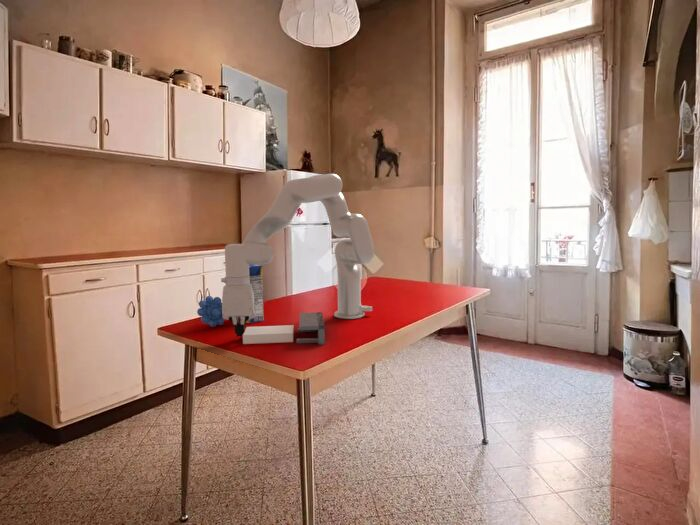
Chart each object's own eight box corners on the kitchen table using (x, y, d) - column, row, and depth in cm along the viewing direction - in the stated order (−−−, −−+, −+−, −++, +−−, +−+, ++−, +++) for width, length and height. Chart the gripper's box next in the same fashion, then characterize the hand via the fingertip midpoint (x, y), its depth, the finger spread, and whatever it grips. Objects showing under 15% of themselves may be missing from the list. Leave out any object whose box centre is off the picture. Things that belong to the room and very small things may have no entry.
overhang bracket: (322, 328, 144) (322, 312, 144) (324, 344, 127) (324, 325, 126) (297, 329, 143) (297, 313, 143) (296, 345, 126) (296, 326, 125)
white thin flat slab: (293, 333, 139) (293, 325, 139) (292, 341, 130) (292, 333, 129) (247, 335, 137) (247, 326, 137) (243, 344, 128) (242, 335, 127)
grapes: (202, 332, 142) (200, 299, 140) (195, 328, 147) (193, 296, 145) (233, 326, 149) (231, 294, 148) (225, 322, 154) (224, 292, 153)
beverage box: (247, 323, 153) (244, 267, 150) (238, 317, 162) (236, 264, 159) (263, 320, 156) (262, 265, 154) (254, 315, 165) (252, 263, 163)
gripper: (211, 283, 126) (214, 339, 128) (259, 282, 127) (261, 337, 129) (217, 280, 133) (219, 333, 135) (262, 279, 135) (263, 331, 137)
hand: (239, 335), depth 132 cm, fingers closed
